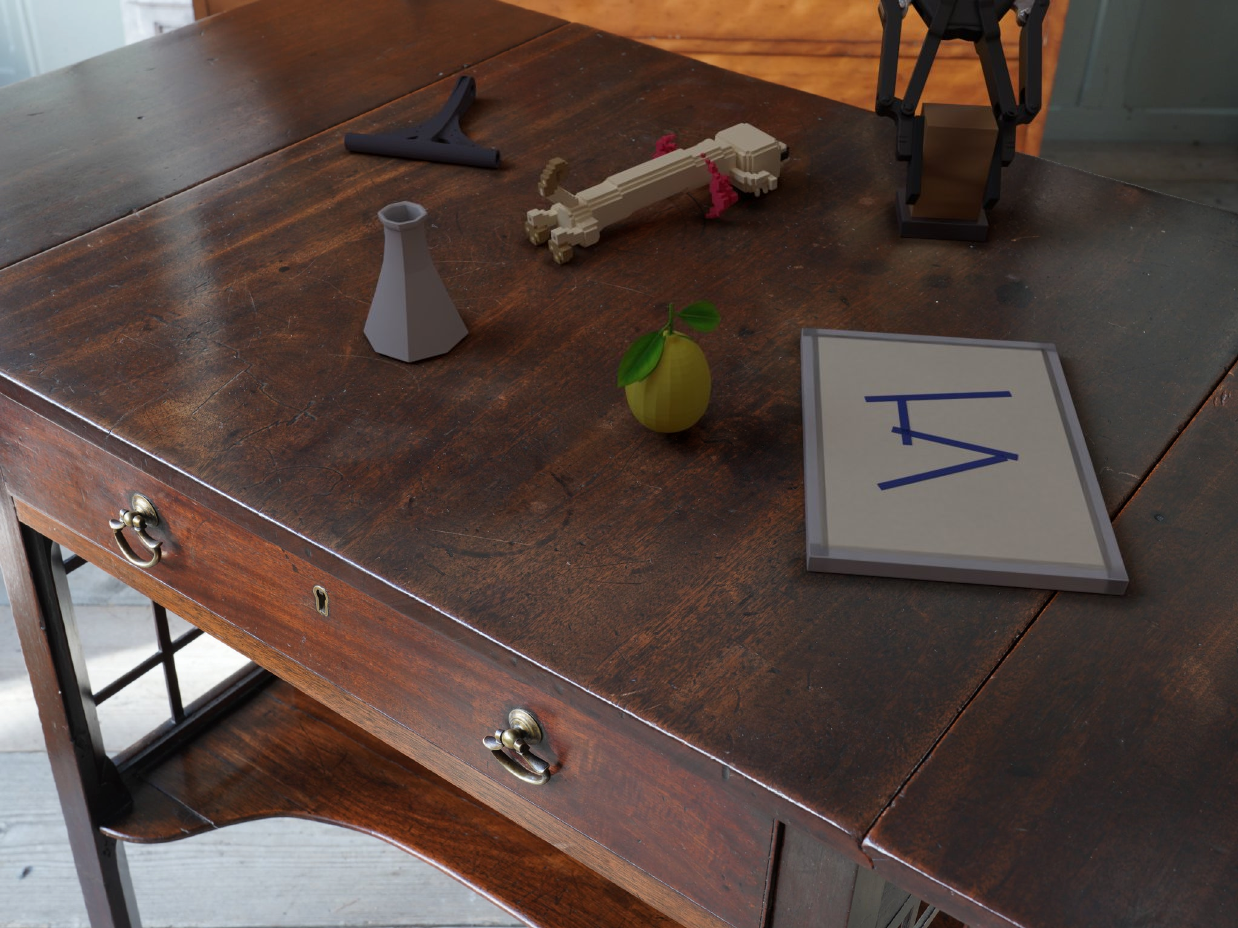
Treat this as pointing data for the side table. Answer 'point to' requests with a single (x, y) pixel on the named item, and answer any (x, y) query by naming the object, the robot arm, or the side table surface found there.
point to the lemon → (669, 372)
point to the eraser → (951, 174)
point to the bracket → (433, 135)
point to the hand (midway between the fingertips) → (951, 201)
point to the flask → (410, 293)
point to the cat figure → (656, 185)
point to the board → (949, 464)
